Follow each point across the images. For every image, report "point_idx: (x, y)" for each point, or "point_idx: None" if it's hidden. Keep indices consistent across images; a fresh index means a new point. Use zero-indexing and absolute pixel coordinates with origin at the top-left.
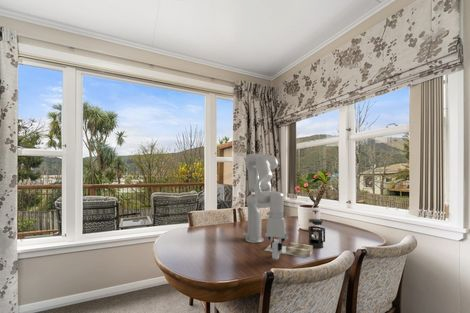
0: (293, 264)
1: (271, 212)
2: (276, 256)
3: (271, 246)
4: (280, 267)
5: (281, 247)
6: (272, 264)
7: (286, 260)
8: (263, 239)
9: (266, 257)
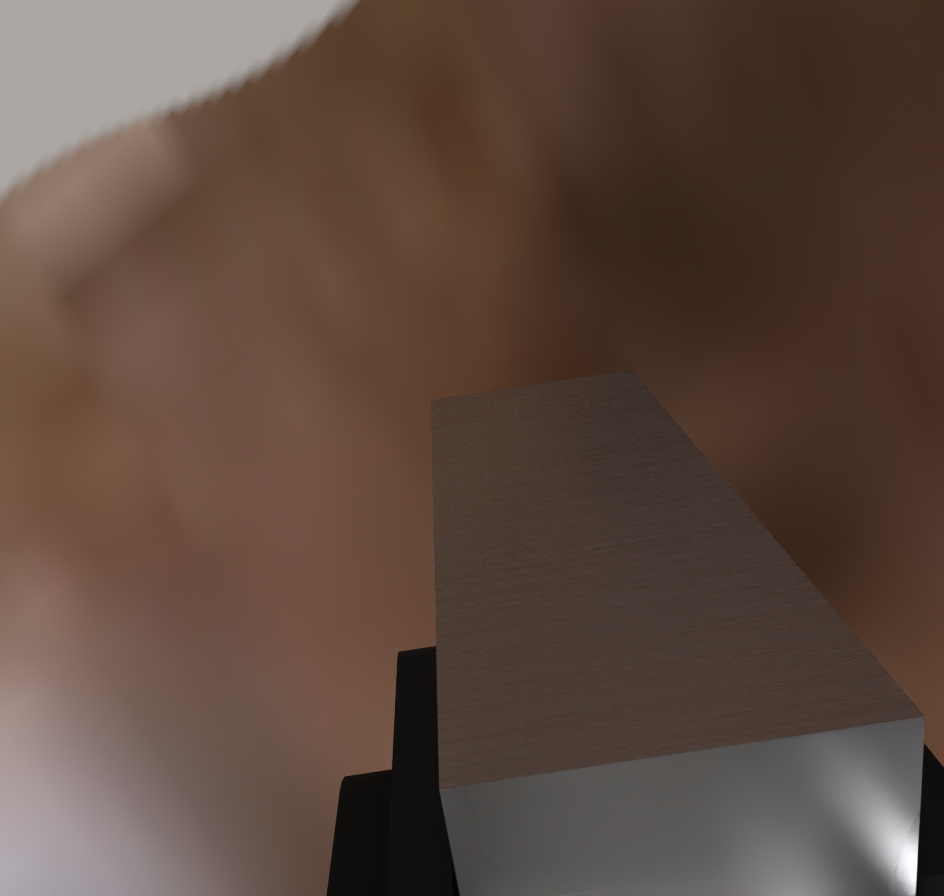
0: (41, 571)
1: None
2: (475, 421)
3: None
4: (216, 134)
5: (343, 846)
6: (530, 199)
7: (328, 696)
8: None
9: (884, 567)
